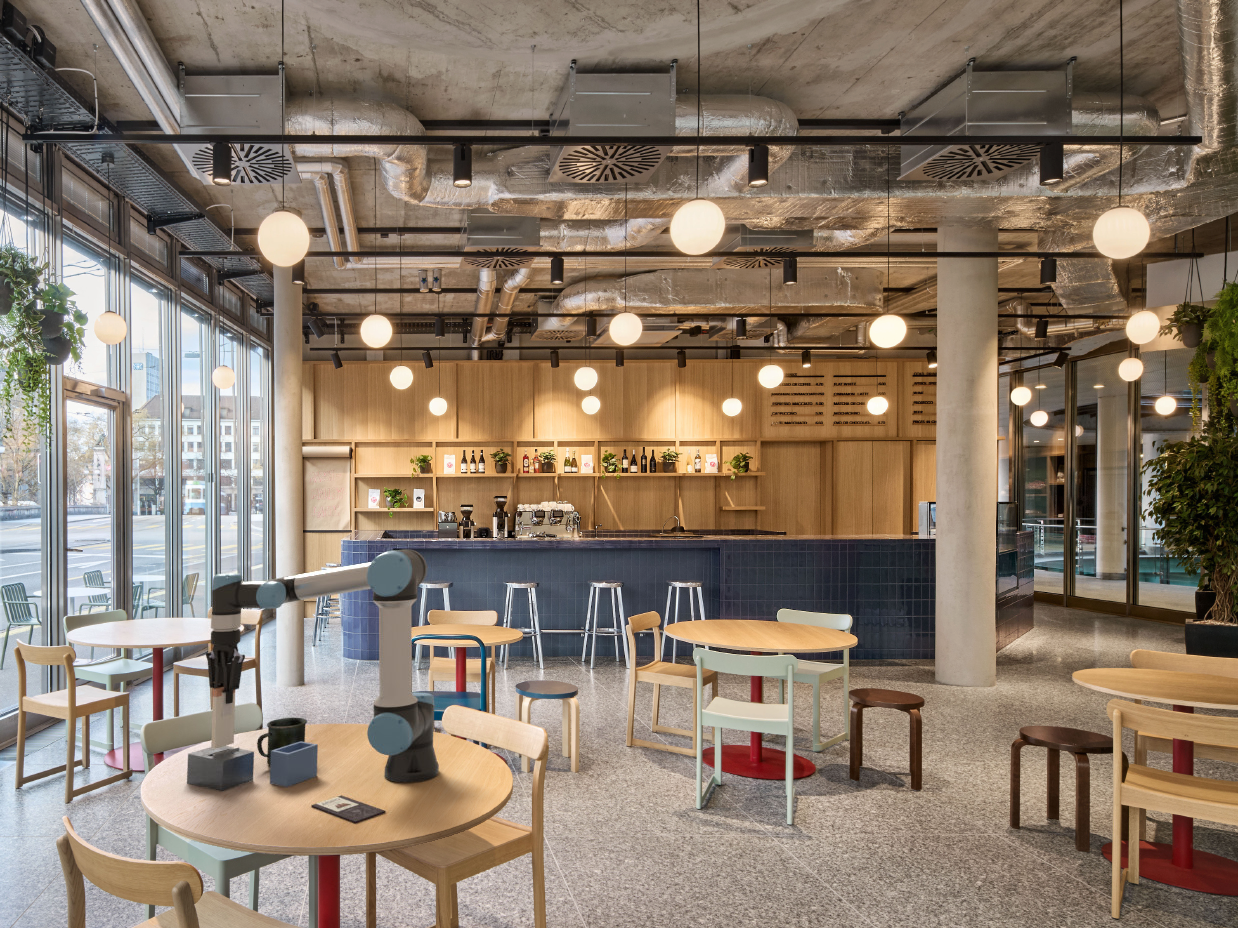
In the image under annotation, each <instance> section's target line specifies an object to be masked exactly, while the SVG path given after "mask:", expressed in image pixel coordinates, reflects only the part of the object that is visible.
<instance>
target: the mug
mask: <svg viewBox="0 0 1238 928" xmlns="http://www.w3.org/2000/svg"><path fill="white" fill-rule="evenodd" d="M307 723H308V721H307V719H306V718H302V717H284V718H277V719H273V720H270V721H269V722H268V723H267V724H266V727H267V730H268V731H267V732H266V733H263V734H260V736H259V737H258V738H257V741H256V746H257V748H256V749H257V751H258V753H259V755H260V756H262V757H263V758H266V759H267V760H266V761H267V762H266V763H267V765H268V766H269V767H270V761H271V751H272V750H275V749H278V748H281V747H285V746H288V745H291V744H294V743H297V742H300V741H302V742H306V724H307ZM266 738H267V751H266V752H267V753H265V752H264V749H263V745H262V744H263V741H264V739H266Z"/></svg>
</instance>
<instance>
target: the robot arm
mask: <svg viewBox="0 0 1238 928" xmlns="http://www.w3.org/2000/svg"><path fill="white" fill-rule="evenodd" d="M427 572H428V566H427V562H426V560H425V557H423V555H422V554H421V553H419V552H418V551H416V550H414V549H410V548H409V549H408V548H406V549H399V550H398V549H397V550H388V551H385V552H383V553H381V554H379V555H377V556H376V557H375V558H374V559H373V560H372V561H371V562H364V563H359V564H353V565H347V566H340V567H336V568H331V569H324V570H317V571H312V572H308V573H302V574H301V573H300V574H295V575H288V576H283V577H279V578H273V579H266V580H260V581H259V580H256V581H255V580H254V581H253V580H252V581H249V580H247V581H246V580H244V579H243V576H242V574H241V573H238V572H237V573H235V572H234V573H233V572H230V573H227V572H226V573H217V574H215V575H214V576H213V578H212V586H211V616H210V617H211V618H210V619H211V620H210V629H212V630H211V631H210V644H211V645H212V646H213V647H212V650H211V651H208V652H206V653H205V657H206V660H207V661H206V662H207V669H208V682H209V688H211V689H216V688H220V687H224V690H223V691H222V706H221V716H227V715H231V714H232V702H233V691H234V690H235V691H236V690H239V689H240V683H241V678H242V671H243V670H242V669H243V663H244V661H245V658H246V655H245V654H241V653H240V652H239V648H238V645H239V643H240V642H241V637H242V635H241V633H242V632H241V631H242V630H241V629H240V628H241V626H242V625H241V623H242V609H264V610H269V609H279V608H281V607H282V605H283V604H287V603H293V602H294V603H295V602H299V601H300V602H301V601H304V600H310V599H316V598H323V597H328V596H334V595H338V594H346V593H353V592H357V591H364V590H370V589H371V590H372V597H373V598H372V601H373V603H374V604H375V605H376V606H377V607H378V618H379V619H378V623H379V624H378V637H379V638H378V644H379V645H378V647H379V648H378V649H379V650H378V653H379V654H378V655H379V657H378V661H379V663H378V665H379V666H378V670H379V672H378V673H379V676H378V678H379V683H378V685H379V686H378V687H379V688H378V689H379V690H378V691H379V692H378V693H379V695H378V697H377V698H376V699H375V700H374V701H373V718H372V719H371V721H370V722H369V724H368V726H367V731H366V735H367V740H368V742H369V744H370V745H371V747H372V748H373V749H374V750H375V751H376V752H377V753H379V754H382V755H384V756H388V757H387V759H386V764H385V767H384V771H383V772H384V778H385V779H386V780H388V781H390V782H394V783H419V782H423V781H429V780H432V779H433V778H435V777H437V776H438V774H439V773H440V772H439V769H440V767H439V762H438V761H437V755H436V752H435V748H434V723H435V722H434V721H435V720H434V719H435V698H434V695H433V694H431V693H428V692H413V681H412V680H413V675H412V674H413V673H412V669H413V667H412V665H413V664H412V660H413V659H412V658H413V657H412V656H413V654H412V653H413V652H412V650H413V649H412V647H413V646H412V640H413V639H412V636H413V635H412V631H413V630H412V606H413V604H414V603H416V601H417V600H418V587H419V586H420V585H421V584H422V583H423V582H424V580H425V578H426V577H427V574H428V573H427Z"/></svg>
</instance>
